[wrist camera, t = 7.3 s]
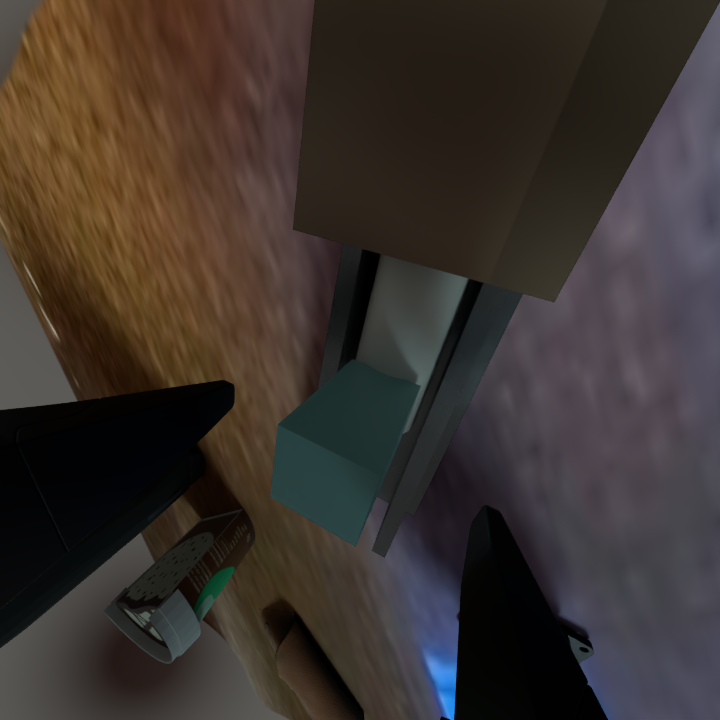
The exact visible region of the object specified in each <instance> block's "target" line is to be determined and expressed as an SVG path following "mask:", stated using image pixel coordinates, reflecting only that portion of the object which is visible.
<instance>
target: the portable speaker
mask: <svg viewBox="0 0 720 720" xmlns="http://www.w3.org/2000/svg"><path fill="white" fill-rule="evenodd" d="M204 469H205V463H204V459H203V456H202V454H193V453H192V452H191V451H190V450H188V451H187V452H186V453H184V454H183V455H182V456H181V457H180V458H178V459H177V460H176V461H175V462H174V463H173V464H171V465H170V466H169V467H168V468H167V469H165V470H164V471H163V472H162V473H161V474H160V475H158V476H157V477H156V478H155V479H154V480H152V481H151V482H150V483H149V484H148V485H147V486H145V487H144V488H143V489H142V490H141V491H139V492H138V493H137V494H136V495H135V496H134V497H132V498H131V499H130V500H129V501H128V502H127V503H125V504H124V505H123V506H122V507H121V508H119V509H118V510H117V511H116V512H115V513H114V514H112V515H111V516H110V517H109V518H108V519H106V520H105V521H104V522H103V523H102V524H101V525H99V526H98V527H97V528H96V529H95V530H93V531H92V532H91V533H90V534H89V535H88V536H86V537H85V538H84V539H83V540H82V541H80V542H79V543H78V544H77V545H76V546H75V547H73V548H72V549H71V550H70V551H67V554H65V555H64V556H63V557H62V558H61V559H59V560H58V561H57V562H56V563H55V564H54V565H52V566H51V567H50V568H49V569H48V570H46V571H45V572H44V573H43V574H42V575H41V576H39V577H38V578H37V579H36V580H35V581H34V582H32V583H31V584H30V585H29V586H28V587H26V588H25V589H24V590H23V591H22V592H21V593H19V594H18V595H17V596H16V597H15V598H13V599H12V600H11V601H10V602H9V603H8V604H6V605H5V606H4V607H3V608H2V609H0V648H1V647H2V646H4V645H5V644H6V643H8V642H9V641H10V640H12V639H13V638H14V637H16V636H17V635H18V634H19V633H21V632H22V631H23V630H25V629H26V628H27V627H28V626H30V625H31V624H32V623H33V622H34V621H36V620H37V619H38V618H39V617H40V616H42V615H43V614H44V613H45V612H46V611H47V610H49V609H50V608H51V607H52V606H54V605H55V604H56V603H57V602H58V601H59V600H61V599H62V598H63V597H64V596H65V595H67V594H68V593H69V592H70V591H71V590H73V589H74V588H75V587H76V586H77V585H79V584H80V583H81V582H82V581H83V580H84V579H86V578H87V577H88V576H89V575H90V574H92V573H93V572H94V571H95V570H96V569H98V568H99V567H100V566H101V565H102V564H104V563H105V562H106V561H107V560H108V559H109V558H111V557H112V556H113V555H114V554H115V553H117V552H118V551H119V550H120V549H121V548H123V546H125V545H126V544H127V543H129V542H130V541H131V540H132V539H133V538H134V537H136V536H137V535H138V534H139V533H140V532H142V531H143V530H144V529H145V528H146V527H147V526H148V525H149V524H150V523H152V522H153V521H154V520H155V519H156V518H157V517H158V516H159V515H160V514H161V513H163V512H164V511H165V510H166V509H167V508H168V507H169V506H170V505H171V504H172V503H174V502H175V501H176V500H177V499H178V498H179V497H180V496H181V495H182V494H183V493H185V492H186V491H187V490H188V489H189V486H190V485H192V484H193V483H194V482H195V481H196V480H197V479H199V478H200V477H201V476H202V475H203V474H204Z"/></svg>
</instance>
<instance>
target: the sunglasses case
mask: <svg viewBox="0 0 720 720" xmlns="http://www.w3.org/2000/svg"><path fill="white" fill-rule="evenodd" d="M259 610H260V615H261V620H262V624H263V627H264V629H265V632H266V634H267V637H268V639H269V641H270V643H271V645H272V647H273V649H274V651H275V653H276V654H275V656H276V657H275V658H276V664H277V670H278V674H279V676H280V678H281V679H283V680H284V681H285V682H286V683H287V684H288V686H289V687H290V688H291V690H294V692H295V694H296V695H297V697H298V698H299V700H300V701H301V703H302V705H303V707H304V708H305V710H306V712H307V713H308V715H309V716H310V717H311V719H312V720H364V713H362V711H359V710H358V708H357V707H356V706H355V705H354V704H353V703H352V701H351V700H350V699H349V698H347V696H346V694H345V693H344V692H343V691H342V690H340V689H339V687H338V685H337V683H336V681H335V680H334V678H333V677H332V675H331V674H330V672H329V671H328V669H327V668H326V667H325V666H324V665H323V663H322V662H321V660H320V658H319V656H318V654H317V653H316V651H315V650H314V649H313V647H312V646H311V644H310V643H309V641H308V640H307V638H306V637H305V635H304V634H303V632H302V631H301V629H300V627H299V625H298V624H297V623H296V622H295V614H294V613H290V612H282V611H274V610H261V609H259Z"/></svg>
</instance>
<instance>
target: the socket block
mask: <svg viewBox="0 0 720 720" xmlns="http://www.w3.org/2000/svg"><path fill="white" fill-rule="evenodd" d="M719 2H720V0H315V4H314V15H313V25H312V36H311V46H310V57H309V67H308V78H307V88H306V99H305V109H304V120H303V130H302V140H301V151H300V161H299V172H298V182H297V193H296V203H295V214H294V224H293V230H296V231H300V232H303V233H307V234H311V235H314V236H318V237H321V238H325V239H329V240H332V241H336V242H339V243H343V244H347V245H350V246H354V247H357V248H361V249H364V250H368V251H372V252H375V253H379V254H382V255H386V256H390V257H393V258H397V259H400V260H404V261H408V262H411V263H415V264H418V265H422V266H426V267H429V268H433V269H436V270H440V271H443V272H447V273H451V274H454V275H458V276H461V277H465V278H469V279H472V280H476V281H479V282H483V283H487V284H490V285H494V286H497V287H501V288H504V289H508V290H512V291H515V292H519V293H522V294H526V295H530V296H533V297H537V298H540V299H544V300H548V301H551V302H555V300H556V298H557V296H558V294H559V293H560V291H561V289H562V287H563V285H564V284H565V282H566V280H567V278H568V276H569V274H570V273H571V271H572V269H573V267H574V265H575V264H576V262H577V260H578V258H579V256H580V255H581V253H582V251H583V249H584V247H585V245H586V244H587V242H588V240H589V238H590V236H591V235H592V233H593V231H594V229H595V227H596V225H597V224H598V222H599V220H600V218H601V216H602V215H603V213H604V211H605V209H606V207H607V206H608V204H609V202H610V200H611V198H612V196H613V195H614V193H615V191H616V189H617V187H618V186H619V184H620V182H621V180H622V178H623V177H624V175H625V173H626V171H627V169H628V167H629V166H630V164H631V162H632V160H633V158H634V157H635V155H636V153H637V151H638V149H639V147H640V146H641V144H642V142H643V140H644V138H645V137H646V135H647V133H648V131H649V129H650V128H651V126H652V124H653V122H654V120H655V118H656V117H657V115H658V113H659V111H660V109H661V108H662V106H663V104H664V102H665V100H666V99H667V97H668V95H669V93H670V91H671V89H672V88H673V86H674V84H675V82H676V80H677V79H678V77H679V75H680V73H681V71H682V69H683V68H684V66H685V64H686V62H687V60H688V59H689V57H690V55H691V53H692V51H693V50H694V48H695V46H696V44H697V42H698V40H699V39H700V37H701V35H702V33H703V31H704V30H705V28H706V26H707V24H708V22H709V21H710V19H711V17H712V15H713V13H714V11H715V10H716V8H717V6H718V4H719Z"/></svg>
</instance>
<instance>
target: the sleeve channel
mask: <svg viewBox="0 0 720 720" xmlns="http://www.w3.org/2000/svg"><path fill="white" fill-rule="evenodd" d="M379 258H380V254H379V253H375V252H372V251H368V250H364V249H361V248H357V247H354V246H350V245H347V244H343V247H342V253H341V259H340V264H339V270H338V276H337V282H336V287H335V293H334V299H333V304H332V310H331V316H330V322H329V327H328V333H327V339H326V344H325V350H324V356H323V362H322V367H321V373H320V379H319V384H318V389H319V388H320V387H321V386H323V385H324V384H325V383H326V382H327V381H328V380H329V379H331V378H332V377H333V376H334V375H335V374H336V373H338V372H339V371H340V370H341V369H342V368H343V367H344V366H346V365H347V364H348V363H349V362H350V361H351V360H352V359H354V360H356V356H357V351H358V347H359V343H360V339H361V335H362V330H363V326H364V322H365V318H366V313H367V309H368V305H369V301H370V296H371V292H372V288H373V284H374V280H375V275H376V271H377V267H378V263H379ZM522 295H523V294H522V293H519V292H515V291H512V290H508V289H504V288H501V287H497V286H494V285H490V284H487V283H483V282H479V281H476V280H472V279H471V281H470V284H469V286H468V289H467V292H466V294H465V297H464V299H463V302H462V304H461V307H460V309H459V312H458V314H457V317H456V319H455V322H454V324H453V327H452V330H451V332H450V335H449V337H448V340H447V342H446V345H445V347H444V350H443V352H442V355H441V357H440V360H439V362H438V365H437V367H436V370H435V373H434V375H433V378H432V380H431V383H430V385H429V388H428V390H427V393H426V395H425V398H424V400H423V403H422V405H421V408H420V411H419V413H418V416H417V418H416V421H415V423H414V425H413V427H412V428H411V430H409V431H408V432H406V433H404V434H403V435H402V437H401V440H400V443H399V445H398V447H397V450H396V452H395V454H394V457H393V459H392V461H391V464H390V466H389V468H388V471H387V473H386V476H385V478H384V480H383V483H382V485H381V487H380V490H379V492H378V494H377V497H379V498H381V499H383V500H384V501H386V502H388V503H389V505H388V508H387V510H386V513H385V516H384V519H383V521H382V524H381V527H380V530H379V532H378V535H377V538H376V541H375V543H374V546H373V549H372V551H374V552H375V553H377V554H379V555H381V556H382V557H384V558H385V556H386V554H387V551H388V549H389V547H390V545H391V543H392V541H393V539H394V536H395V534H396V532H397V530H398V528H399V526H400V524H401V521H402V519H403V517H404V515H405V513H406V512H407V513H409V514H411V515H413V516H414V515H415V513H416V511H417V509H418V506H419V504H420V502H421V500H422V498H423V496H424V494H425V492H426V490H427V488H428V486H429V484H430V482H431V480H432V478H433V476H434V474H435V472H436V470H437V468H438V466H439V464H440V462H441V460H442V458H443V456H444V454H445V452H446V449H447V447H448V445H449V443H450V441H451V439H452V437H453V435H454V433H455V431H456V429H457V427H458V425H459V423H460V421H461V419H462V417H463V415H464V413H465V411H466V409H467V407H468V405H469V403H470V401H471V399H472V397H473V395H474V392H475V390H476V388H477V386H478V384H479V382H480V380H481V378H482V376H483V374H484V372H485V370H486V368H487V366H488V364H489V362H490V360H491V358H492V356H493V354H494V352H495V350H496V348H497V346H498V344H499V342H500V340H501V337H502V335H503V333H504V331H505V329H506V327H507V325H508V323H509V321H510V319H511V317H512V315H513V313H514V311H515V309H516V307H517V305H518V303H519V301H520V299H521V297H522Z"/></svg>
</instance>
